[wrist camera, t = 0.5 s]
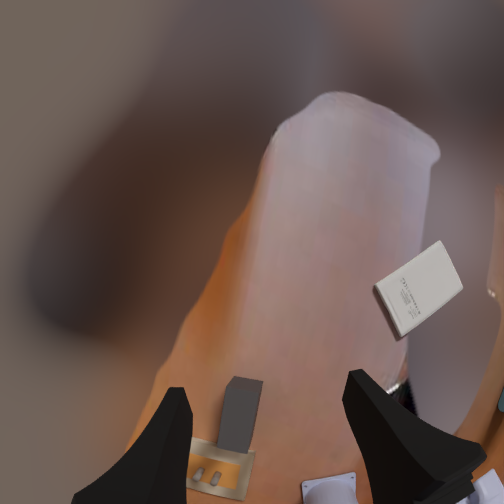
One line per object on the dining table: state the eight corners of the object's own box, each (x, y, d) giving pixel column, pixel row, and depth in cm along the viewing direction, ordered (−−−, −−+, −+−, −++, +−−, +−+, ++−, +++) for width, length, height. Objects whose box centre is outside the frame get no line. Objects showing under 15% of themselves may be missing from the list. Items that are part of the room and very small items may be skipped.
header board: (255, 450, 31) (252, 465, 27) (245, 496, 30) (241, 512, 26) (162, 427, 33) (150, 437, 29) (159, 473, 32) (149, 485, 28)
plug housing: (234, 376, 34) (226, 386, 29) (263, 381, 33) (259, 392, 28) (225, 431, 32) (216, 447, 27) (252, 436, 32) (247, 454, 27)
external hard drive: (458, 289, 33) (397, 336, 33) (435, 242, 34) (372, 284, 35) (464, 288, 31) (402, 337, 31) (440, 239, 33) (376, 283, 33)
